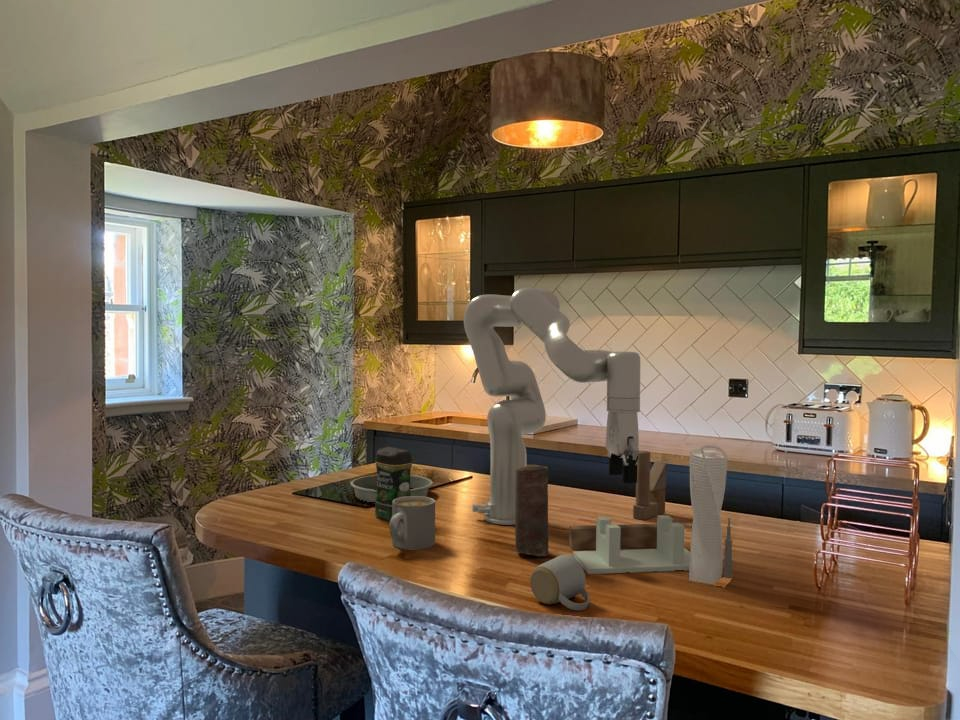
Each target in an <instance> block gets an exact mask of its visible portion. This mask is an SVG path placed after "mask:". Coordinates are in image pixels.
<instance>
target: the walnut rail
mask: <svg viewBox="0 0 960 720" xmlns="http://www.w3.org/2000/svg"><path fill="white" fill-rule="evenodd" d="M617 525H618V526H619V527H620V528H621V533H620V549H628V548H629V549H630V548H631V549H632V548H633V549H634V548H657V523H639V524H638V523H635V524H617ZM568 528H569V529H568V533H569V534H568V537H569V538H568V547H569V548H570V550H572V551H574V550H594V549H595V550H596V525H569V526H568ZM573 549H574V550H573Z"/></svg>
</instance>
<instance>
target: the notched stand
mask: <svg viewBox="0 0 960 720" xmlns="http://www.w3.org/2000/svg"><path fill="white" fill-rule="evenodd" d="M656 518H657V519H656V520H657V521H656V522H657V523H656V524H657V547H656V548H645V549H644V548H643V549H640V548H639V549H637V548H636V549H621V548H620V533H621V528H620V527H619V526H618V525H619V524H616V523H615V524H612V520H611V518H610V517H608V516H597V517H596V549H595V550H580V551H579V550H578V551H577V550H576V551H575V550H572V557H574V558H575V559H576V560H577V561H578V562H579V563H580V565H581V566H582V568H583V570H584V572H586V573H587V574H589V575H595V574H596V575H597V574H623V573H624V574H625V573H626V572H629V573H649V572H650V573H651V572H652V571H653V573H654V571H657V572H676V571H675V570H684V571H689V570H690V550H688V549H687V548H685V527H686V526H685V525H684V524H682V523H681V522H673V517H671V516H670V515H668V514H666V515H665V514H662V515H657V516H656Z"/></svg>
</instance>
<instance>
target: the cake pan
mask: <svg viewBox="0 0 960 720" xmlns="http://www.w3.org/2000/svg"><path fill="white" fill-rule="evenodd" d="M349 483H350V486H351V487H352V488H353V489H354V494H355V498H356V497H357V498H358V499H357V498H356V499H357V500H359V499H360V500H359V501H361V500H363V501H362V502H364V501H367V502H366V503H369V502H375V503H374V504H376V492H377V490H374V489H377V474H371V475H366V476H360V477H357V478H354V479H353V480H352V481H350V482H349ZM433 484H434V483H433V481H432V479H430V478H428V477H425V476H420V475H413V474H410V488H413V489H410V490H411V496H423V497H428V492H429V488H430V487H432V485H433Z"/></svg>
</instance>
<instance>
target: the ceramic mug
mask: <svg viewBox="0 0 960 720" xmlns="http://www.w3.org/2000/svg"><path fill="white" fill-rule="evenodd" d="M529 584H530V588H531V591H532V594H533V595H534V597H535V598H536V599H537V600H538V601H539V602H540V603H542V604H545V605H555V604H558V603H561V604H562V605H563V607H564V606H565V607H566V608H568V610H572V611H579V612H580V611H583V610H585V609H587V608H588V606H589V603H590V600H591V598H590V593H589V592H588V590H587V589H586V573H585V569H584V568H583V567H582V566H581V565H580V563H579V562H578V561H577V560H576V559H575V558H574V557H573V555H570V554H560V555H558V556H556V557H554V558H552V559H550V560H548V561H545V562H543V563H541V564H539V565H538V566H536V568H534V569H533V571H532V572H531V574H530V577H529ZM579 595H581V596H582V598H583V599H584V600H585V602H582V603H579V602H578V603H577V602H573V601H571V600H570V599H571V598H574V597H577V596H579Z"/></svg>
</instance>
